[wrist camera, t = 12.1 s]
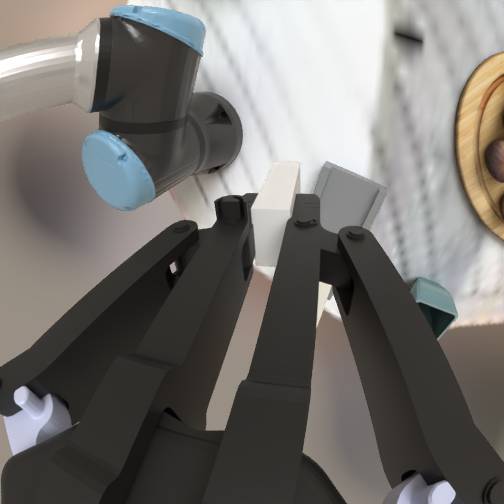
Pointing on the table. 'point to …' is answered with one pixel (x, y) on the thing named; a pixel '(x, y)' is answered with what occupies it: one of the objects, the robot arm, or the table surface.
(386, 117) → the table surface
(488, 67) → the wooden plate with food
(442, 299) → the flower pot
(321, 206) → the grey chute
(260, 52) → the table surface
